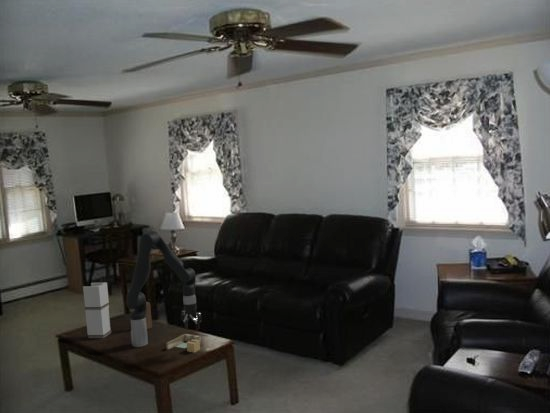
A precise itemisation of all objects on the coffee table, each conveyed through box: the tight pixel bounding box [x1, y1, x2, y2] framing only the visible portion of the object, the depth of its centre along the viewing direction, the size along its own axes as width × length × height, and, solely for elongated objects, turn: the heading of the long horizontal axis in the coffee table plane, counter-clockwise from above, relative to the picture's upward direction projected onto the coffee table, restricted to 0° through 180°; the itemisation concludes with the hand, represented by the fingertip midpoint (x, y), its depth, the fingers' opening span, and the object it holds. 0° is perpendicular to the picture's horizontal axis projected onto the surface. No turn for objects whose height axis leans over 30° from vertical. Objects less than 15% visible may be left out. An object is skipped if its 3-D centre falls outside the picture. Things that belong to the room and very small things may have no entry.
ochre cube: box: [186, 339, 201, 353], centre depth 294 cm, size 6×6×6 cm
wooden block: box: [146, 301, 153, 330], centre depth 340 cm, size 9×4×18 cm, turn 131°
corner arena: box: [165, 333, 202, 350], centre depth 303 cm, size 13×17×4 cm
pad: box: [174, 341, 187, 349], centre depth 303 cm, size 8×8×1 cm
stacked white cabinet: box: [82, 282, 112, 339], centre depth 332 cm, size 11×11×35 cm
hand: (192, 328), depth 293 cm, fingers open, 8 cm apart
